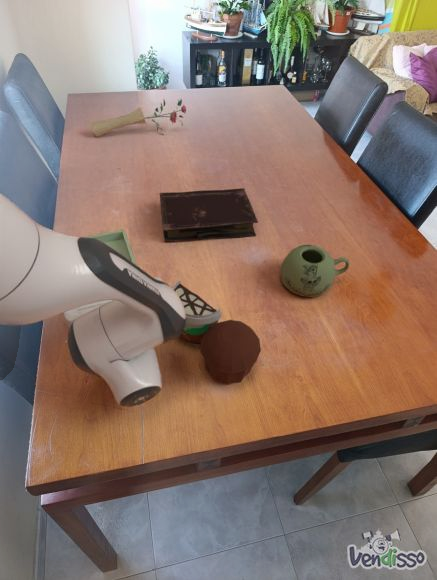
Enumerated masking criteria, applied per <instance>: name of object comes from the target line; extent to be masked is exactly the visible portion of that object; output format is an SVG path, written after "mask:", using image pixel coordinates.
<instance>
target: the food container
mask: <svg viewBox="0 0 437 580" xmlns="http://www.w3.org/2000/svg"><path fill="white" fill-rule="evenodd" d="M171 288H172V289H173V290H174V291H175V292H176V293H177V295H178V296H179V298H180V299H181V301H182V303H183V306H184V309H185V313H186V318H187V319H186V323H185V326H184V328H183V330H182V332H181V334H180V336H179V337H180V338H181V339H182V340H184V341H186V342H188V343H191V344H201V339H202V338H203V336H204V334H205V332H206V331H207V330H208V329H209V328H211V327H212V326H214V325H215V324H217V323H219V320H220V319H222V318H223V316H222V312H221V309H216V308H214V307H213V306H211V304H209V303H207V302H206V301H205V300H204V299H203V298H201V297H200V295H198V294H197V293H194V292H193V291H191V290H190V289H189V288H188V287H186V286H184V285H183V284H182V283H181V279H178V280H177V281H176V282H175V283H174V285H173V286H172V287H171Z"/></svg>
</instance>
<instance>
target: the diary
mask: <svg viewBox="0 0 437 580" xmlns="http://www.w3.org/2000/svg"><path fill="white" fill-rule="evenodd" d="M159 202H160V203H159V204H160V213H161V221H162V222H161V223H162V230H163V240H164V241H165V242H188V241H190V242H191V241H198V240H206V239H236V238H237V239H238V238H247V237H256V236H257V233H256V230H255V228H254V224H257V223H259V220H258V218H257V216H256V213H255V211H254V208H253V205H252V204H251V201H250V198H249V196H248V194H247V192H246V189H245V187H242V188H230V189H209V190H208V189H207V190H206V189H205V190H192V191H191V190H190V191H179V192H175V191H173V192H159Z"/></svg>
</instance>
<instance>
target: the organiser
mask: <svg viewBox="0 0 437 580" xmlns="http://www.w3.org/2000/svg"><path fill="white" fill-rule="evenodd" d="M86 237H87V238H95V239H97V240H99V241H101V242H103V243H105V244H106V245H108V246H109V247H111V248H112V249H114V250H115V251H117V252H118V253H120V254H121V255H123V256H124V257H125V258H127V259H128V260H130V261H131V262H132V263H134V264H135V265H136V266H138V265H137V262H136V259H135V257H134V253H133V250H132V246H131V244H130V241H129V239H128V235H127V233H126V230H125V229H124V228H123V229H119V230H113V231H108V232H103V233H97V234H92V235H86Z"/></svg>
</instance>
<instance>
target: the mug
mask: <svg viewBox="0 0 437 580" xmlns="http://www.w3.org/2000/svg"><path fill="white" fill-rule="evenodd" d="M341 263H345V266H344V267H343V268H341V269H336V267H335V266H336V265H338V264H341ZM349 268H350V261H349V259H348V258H346V257H338V258H335V259H333V258H332V256H331V255H330V253H329V252H328V251H327V250H325V249H324V248H322V247H321V246H318V245H314V244H303V245H298V246H296V247H294V248H293V249H291V250H290V251H289V252H288V253H287V255H286V256H285V258H284V259H283V261H282V262H281V265H280V280H281V282H282V284H283V286H284V287H285V288H286V289H287V290H289V291H290V293H293V294H296V295H298V296H301V297H307V298H315V297H321V296H322V295H324V294H326V293H327V292H328V291H329V290H330V289H331V287H332V285H333V283H334V282H335V277H338V276H339V275H342V274H344V273H346V272H347V271H348V270H349Z"/></svg>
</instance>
